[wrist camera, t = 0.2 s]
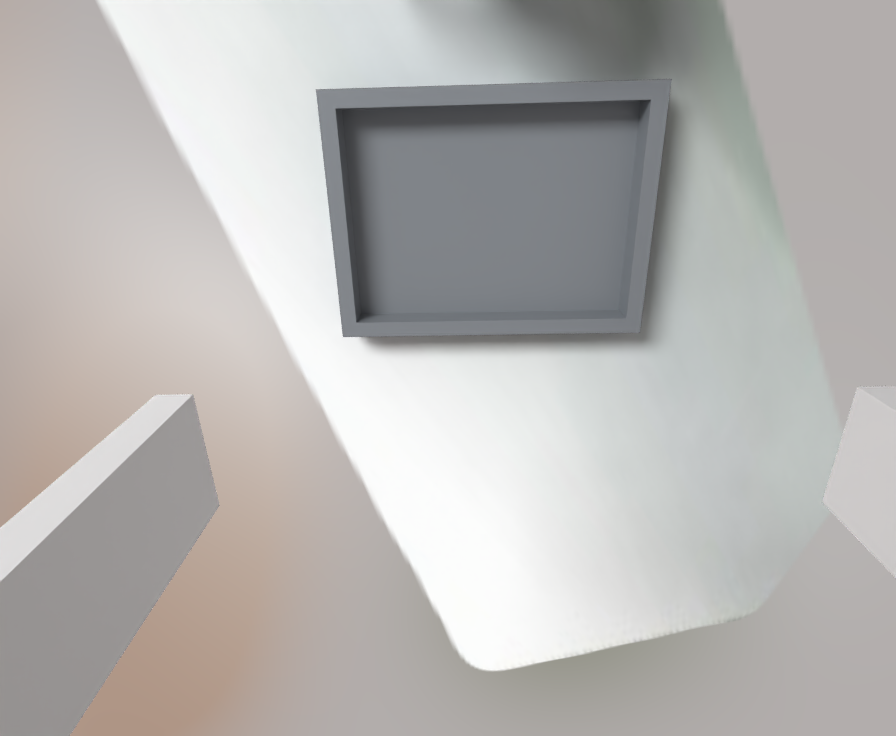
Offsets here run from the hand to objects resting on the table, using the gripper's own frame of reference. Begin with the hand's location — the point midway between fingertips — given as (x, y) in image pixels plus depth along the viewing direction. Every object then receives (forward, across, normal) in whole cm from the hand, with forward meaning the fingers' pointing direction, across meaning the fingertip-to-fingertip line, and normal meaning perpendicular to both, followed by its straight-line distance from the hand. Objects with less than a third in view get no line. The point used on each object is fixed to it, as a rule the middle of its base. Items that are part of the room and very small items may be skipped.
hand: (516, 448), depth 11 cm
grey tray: (+27, +1, +1) cm, 27 cm away
